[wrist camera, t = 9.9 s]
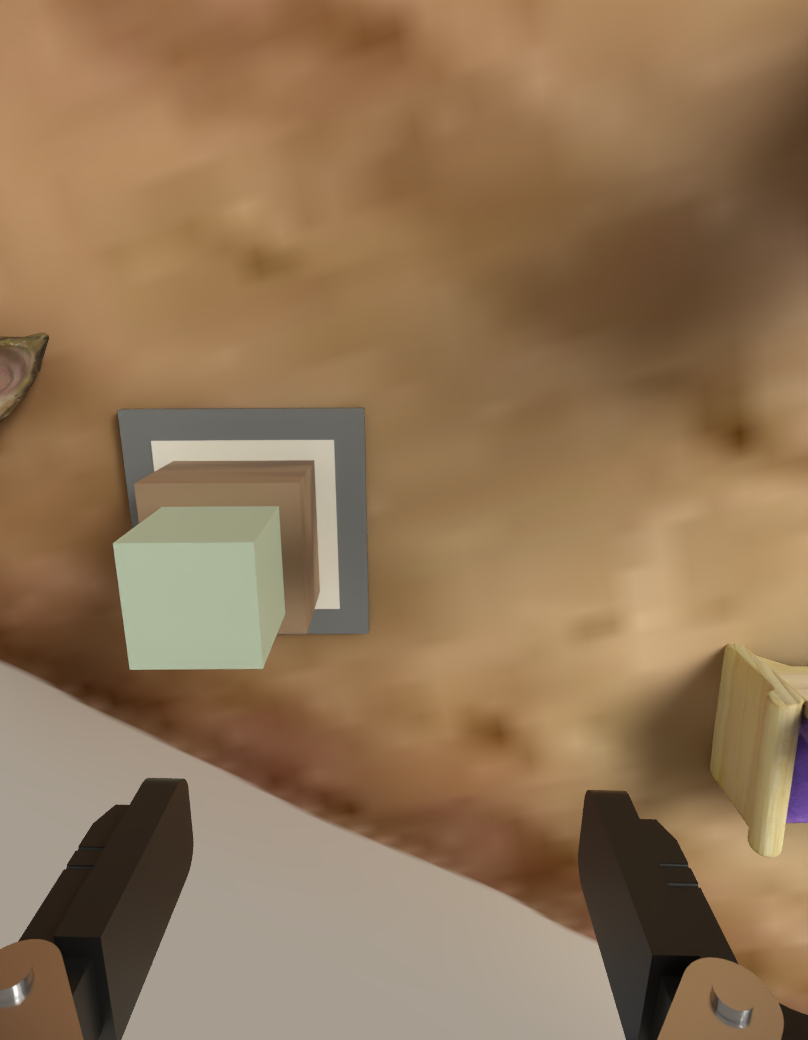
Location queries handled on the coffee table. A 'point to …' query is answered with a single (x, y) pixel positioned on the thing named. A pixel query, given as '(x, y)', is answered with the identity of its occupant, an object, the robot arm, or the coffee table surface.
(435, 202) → the coffee table surface
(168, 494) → the walnut base block
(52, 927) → the robot arm
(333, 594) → the mat
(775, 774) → the toy sofa
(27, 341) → the ceramic sculpture
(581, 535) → the coffee table surface
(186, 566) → the sage cube
